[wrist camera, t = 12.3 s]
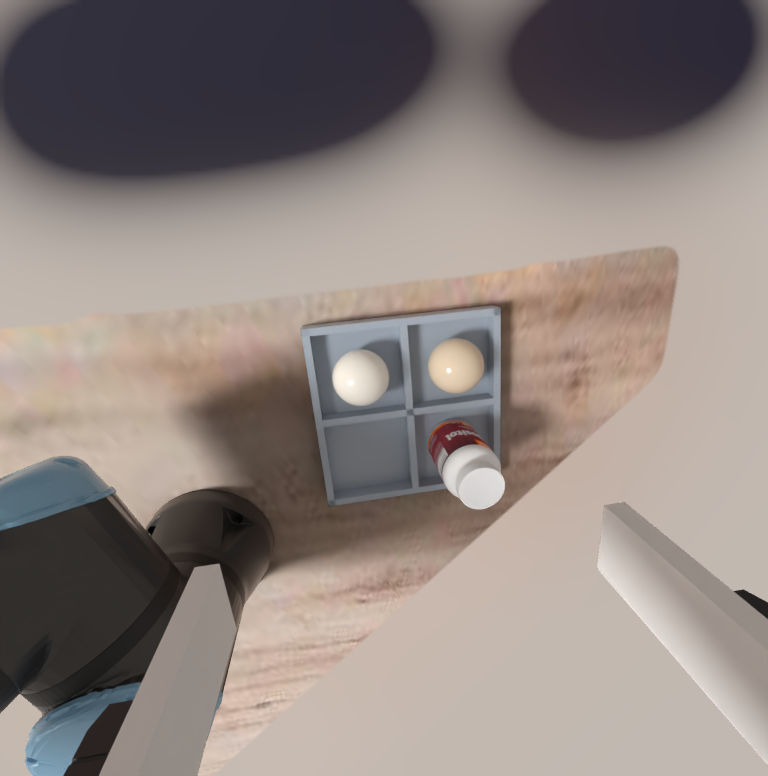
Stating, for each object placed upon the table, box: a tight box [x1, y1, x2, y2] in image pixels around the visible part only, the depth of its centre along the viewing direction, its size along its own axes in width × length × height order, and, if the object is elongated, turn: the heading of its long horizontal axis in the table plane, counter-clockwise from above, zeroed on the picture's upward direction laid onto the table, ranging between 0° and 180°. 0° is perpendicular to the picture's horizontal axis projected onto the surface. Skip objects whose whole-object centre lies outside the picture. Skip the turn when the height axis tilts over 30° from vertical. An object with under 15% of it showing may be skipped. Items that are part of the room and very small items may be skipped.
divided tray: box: [301, 305, 501, 507], centre depth 45 cm, size 21×21×3 cm
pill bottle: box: [428, 419, 505, 509], centre depth 43 cm, size 6×6×11 cm
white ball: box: [332, 349, 389, 406], centre depth 41 cm, size 6×6×6 cm
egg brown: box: [428, 338, 484, 394], centre depth 42 cm, size 6×6×6 cm
